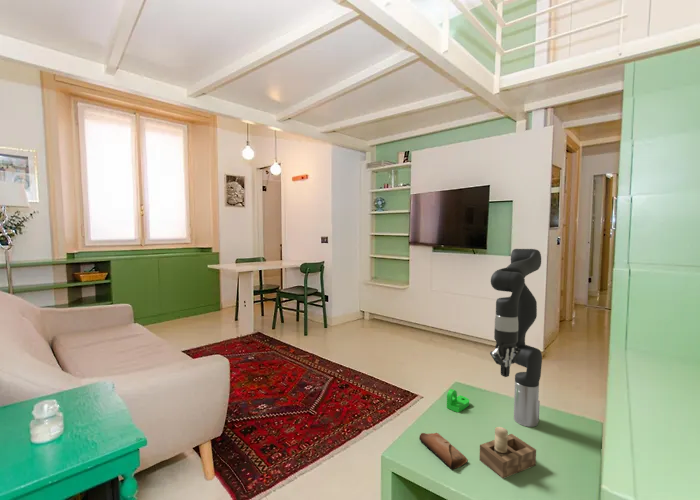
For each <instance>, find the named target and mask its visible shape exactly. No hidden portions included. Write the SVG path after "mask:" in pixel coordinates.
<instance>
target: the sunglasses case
mask: <svg viewBox="0 0 700 500" xmlns="http://www.w3.org/2000/svg"><path fill="white" fill-rule="evenodd" d="M418 438H419V441H420V442H421V443H422V444H424V445H425V446H426V447H427V449H428V448H429V450H430V451H432V452H433V453H434V455H435V456H437V457H438V458H439V459H440V460H441V461H442V462H443V463H444V464H445V465H446V466H447V467H448V468H450V469H451V470H455V469H457V468H461V467H462V466H464V465H465V464H466V463H467V462H468V461H469V459H468V458H467V457H466V456H465V455H464V454H463V453H462V452H461V451H460V450H458V449H457V448H456V447H455V446H454V445H453V444H452V443H450V441H448V440H447V439H446V438H444V437H443V436H442V435H441V434H439V432H435V433H434V432H433V433H432V432H431V433H426V432H421V433H420V434H419V437H418Z"/></svg>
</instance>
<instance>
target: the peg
mask: <svg viewBox="0 0 700 500" xmlns="http://www.w3.org/2000/svg"><path fill="white" fill-rule="evenodd" d="M508 432H509V431H508V430H507V429H506V428H505V427H502V426H497V427H495V428H494V440H495V447H494V452H495V453H497V454H498V455H499V456H501V457H502V456H505V455H507V440H508V435H509V433H508Z"/></svg>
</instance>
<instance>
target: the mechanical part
mask: <svg viewBox="0 0 700 500" xmlns="http://www.w3.org/2000/svg"><path fill="white" fill-rule="evenodd" d="M469 406H470V399H469V398H467V397H466V396H463V395H458V392H457V390H454V389H452V388H450V389H449V390H448V392H447V394H446V408H447V409H449V410H451V411H453V412H455V413H461V412H462V411H464V410H466V408H468V407H469Z"/></svg>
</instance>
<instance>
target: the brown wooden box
mask: <svg viewBox="0 0 700 500" xmlns="http://www.w3.org/2000/svg"><path fill="white" fill-rule="evenodd" d="M494 447H495V439H492V440H490V441H487V442H485V443H481V444H479V461H480V462H481V463H482V464H484V465H485V466H486V467H487V468H489V469H490V470H491V471H492V472H494V473H495V474H496V475H497V476H499V477H500V478H501V479H502V480H503V479H506V478H508V477H510V476H513V475H516V474H518V473H520V472H523V471H526V470H527V469H530V468H532V467H535V466H536V463H537V449H536V448H535V447H533V446H531V445H530V444H528V443H527V442H525V441H523V440H522V439H520V438H519V437H518V436H516V435H514V434H513V433H510V434H509V433H508V440H507V455H505V456H502V457H501V456H499V455H498V454H497V453H495V452H494Z"/></svg>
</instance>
